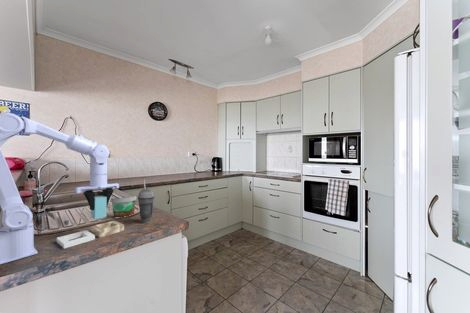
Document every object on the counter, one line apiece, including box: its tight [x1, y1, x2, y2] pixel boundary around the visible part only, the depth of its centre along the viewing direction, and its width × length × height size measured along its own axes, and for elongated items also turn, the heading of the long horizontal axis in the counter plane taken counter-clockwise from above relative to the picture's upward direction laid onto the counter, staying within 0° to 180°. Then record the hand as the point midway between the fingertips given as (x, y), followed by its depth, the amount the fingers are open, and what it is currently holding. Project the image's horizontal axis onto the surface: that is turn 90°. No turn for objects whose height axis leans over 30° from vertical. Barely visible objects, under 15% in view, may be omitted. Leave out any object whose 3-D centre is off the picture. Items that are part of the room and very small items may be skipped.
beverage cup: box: [137, 179, 155, 224], centre depth 94 cm, size 7×7×20 cm
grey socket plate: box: [56, 229, 96, 249], centre depth 73 cm, size 9×9×2 cm
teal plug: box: [90, 195, 108, 220], centre depth 79 cm, size 4×4×8 cm
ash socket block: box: [90, 220, 125, 239], centre depth 82 cm, size 9×9×2 cm
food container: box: [109, 195, 138, 218], centre depth 101 cm, size 12×6×10 cm, turn 105°
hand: (98, 208), depth 79 cm, fingers closed on teal plug, 4 cm apart
